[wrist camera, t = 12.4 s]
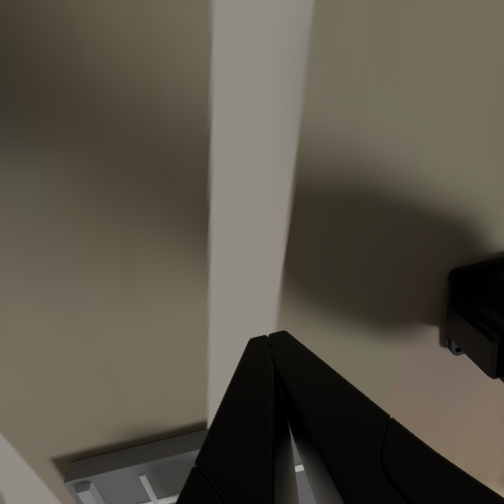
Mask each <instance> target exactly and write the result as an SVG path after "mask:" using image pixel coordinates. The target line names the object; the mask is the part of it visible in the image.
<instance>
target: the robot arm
mask: <svg viewBox="0 0 504 504" xmlns="http://www.w3.org/2000/svg"><path fill="white" fill-rule="evenodd" d="M459 275H460V277H459V278H458V279H457V277H458V276H459ZM447 336H448V349H449V350H450V351H451V352H452V353H453V354H454V355H462V354H466V355H467V356H468V357H469V358H470V359H471V360H472V361H473V362H474V363H475V364H476V365H477V366H478V367H479V368H480V369H481V370H482V371H483V372H484V373H485V374H486V375H487V376H489V377H490V378H492V379H498V378H499V379H500V380H501V381H502V382H503V383H504V257H502V258H498V259H494V260H490V261H485V262H481V263H477V264H473V265H469V266H465V267H461V268H457V269H454V270H453V271H451V273H450V274H449V302H448V305H447ZM268 338H269V339H268ZM269 343H270V344H269ZM270 347H271V348H270ZM271 351H272V352H271ZM272 355H273V356H272ZM274 364H275V365H274ZM275 368H276V369H275ZM276 372H277V373H276ZM277 376H278V377H277ZM279 385H280V386H279ZM280 389H281V390H280ZM281 393H282V394H281ZM282 397H283V398H282ZM284 406H285V407H284ZM285 410H286V411H285ZM286 414H287V415H286ZM287 418H288V419H287ZM288 422H289V424H288ZM289 426H290V428H289ZM290 430H291V433H290ZM291 434H292V437H293V440H294V443H295V446H296V449H297V452H298V454H299V457H300V460H301V462H302V465H303V468H304V471H305V473H306V476H307V479H308V481H309V484H310V487H311V490H312V492H313V495H314V498H315V500H316V503H317V504H504V498H503V497H502V496H500V495H499V494H497V493H496V492H494V491H493V490H491V489H490V488H488V487H487V486H485V485H484V484H482V483H481V482H479V481H478V480H476V479H475V478H473V477H472V476H470V475H469V474H467V473H466V472H465V471H463V470H462V469H460V468H459V467H457V466H456V465H454V464H453V463H452V462H450V461H449V460H447V459H446V458H444V457H443V456H441V455H440V454H439V453H437V452H436V451H435V450H433V449H432V448H431V447H429V446H428V445H427V444H425V443H424V442H423V441H422V440H420V439H419V438H418V437H416V436H415V435H414V434H412V433H411V432H410V431H409V430H407V429H406V428H405V427H404V426H403V425H401V424H400V423H399V422H398V421H396V420H395V419H394V418H390V415H389V414H388V413H386V412H385V411H384V410H383V409H381V408H380V407H379V406H378V405H377V404H375V403H374V402H373V401H372V400H370V399H369V398H368V397H367V396H366V395H364V394H363V393H362V392H361V391H359V390H358V389H357V388H356V387H354V386H353V385H352V384H351V383H350V382H348V381H347V380H346V379H345V378H343V377H342V376H341V375H340V374H338V373H337V372H336V371H335V370H334V369H332V368H331V367H330V366H329V365H327V364H326V363H325V362H324V361H323V360H321V359H320V358H319V357H318V356H316V355H315V354H314V353H313V352H311V351H310V350H309V349H308V348H307V347H305V346H304V345H303V344H302V343H300V342H299V341H298V340H297V339H295V338H294V337H293V336H292V335H291V334H289V333H288V332H287V331H284V330H283V331H279V332H275V333H271V334H269V336H268V337H267V336H266V335H263V336H258V337H254V338H251V339H250V340H249V341H248V344H247V346H246V348H245V350H244V353H243V355H242V357H241V359H240V361H239V364H238V366H237V368H236V370H235V373H234V375H233V377H232V379H231V381H230V384H229V386H228V388H227V391H226V393H225V395H224V397H223V399H222V401H221V404H220V406H219V408H218V410H217V413H216V415H215V417H214V419H213V422H212V424H211V426H210V428H209V430H208V433H207V435H206V437H205V439H204V442H203V444H202V446H201V448H200V451H199V453H198V455H197V457H196V459H195V462H194V466H193V467H192V468H191V470H190V472H189V475H188V477H187V479H186V481H185V484H184V486H183V488H182V490H181V492H180V494H179V496H178V498H177V501H176V503H175V504H299V498H298V489H297V480H296V472H295V463H294V454H293V446H292V439H291Z"/></svg>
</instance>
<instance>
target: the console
mask: <svg viewBox="0 0 504 504" xmlns="http://www.w3.org/2000/svg"><path fill="white" fill-rule="evenodd" d="M285 411H286V410H285ZM286 415H287V414H286ZM287 419H288V418H287ZM288 424H289V422H288ZM289 428H290V426H289ZM208 430H209V429H205V430H201V431H197V432H193V433H189V434H185V435H181V436H176V437H172V438H168V439H164V440H160V441H156V442H152V443H148V444H144V445H140V446H135V447H131V448H127V449H123V450H119V451H115V452H111V453H107V454H103V455H99V456H95V457H90V458H86V459H82V460H78V461H74V462H72V464H71V467H70V469H69V472H68V474H67V476H66V479H65V481H64V484H65V485H66V487H67V488H68V490H69V491H70V493H71V494H72V496H73V497H74V499H75V501H76V502H77V504H175V503H176V501H177V498H178V496H179V494H180V492H181V490H182V488H183V486H184V484H185V481H186V479H187V477H188V475H189V472H190V470H191V468H192V467H193V466H194V462H195V459H196V457H197V455H198V453H199V451H200V448H201V446H202V444H203V442H204V439H205V437H206V435H207V433H208ZM290 433H291V430H290ZM291 439H292V446H293V454H294V463H295V472H296V480H297V489H298V498H299V504H317V503H316V500H315V498H314V495H313V492H312V490H311V487H310V484H309V481H308V479H307V476H306V473H305V471H304V468H303V465H302V462H301V460H300V457H299V454H298V452H297V449H296V446H295V443H294V440H293V437H292V434H291Z"/></svg>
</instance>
